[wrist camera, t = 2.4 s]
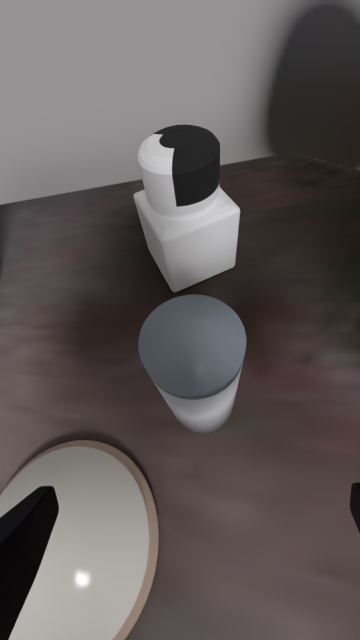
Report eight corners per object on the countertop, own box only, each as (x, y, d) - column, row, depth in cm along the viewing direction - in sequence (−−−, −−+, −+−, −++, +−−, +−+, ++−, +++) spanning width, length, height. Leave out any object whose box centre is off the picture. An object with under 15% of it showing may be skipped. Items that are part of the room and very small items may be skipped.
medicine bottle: (204, 226, 31) (199, 104, 21) (236, 267, 28) (248, 144, 18) (148, 249, 31) (114, 133, 20) (173, 295, 27) (147, 181, 17)
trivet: (191, 604, 16) (190, 613, 15) (-15, 735, 14) (-33, 755, 13) (123, 412, 22) (119, 409, 21) (-26, 489, 20) (-39, 489, 19)
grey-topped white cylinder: (244, 414, 21) (269, 359, 11) (188, 445, 20) (164, 413, 11) (213, 362, 23) (212, 280, 14) (162, 388, 22) (123, 320, 13)
